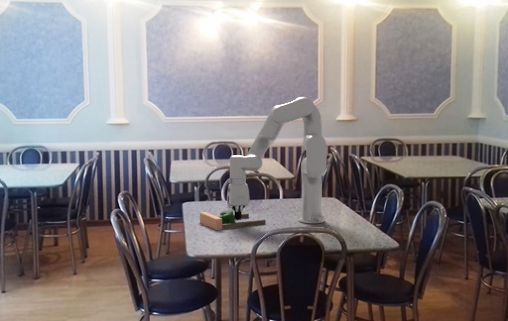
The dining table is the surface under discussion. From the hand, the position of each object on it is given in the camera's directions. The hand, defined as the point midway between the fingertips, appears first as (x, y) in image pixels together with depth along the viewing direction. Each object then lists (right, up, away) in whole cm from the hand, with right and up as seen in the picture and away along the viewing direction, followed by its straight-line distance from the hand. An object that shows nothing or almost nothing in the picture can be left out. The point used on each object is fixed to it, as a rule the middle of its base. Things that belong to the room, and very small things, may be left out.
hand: (238, 219), depth 291 cm
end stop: (-13, -2, -7) cm, 14 cm away
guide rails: (-1, -2, -1) cm, 2 cm away
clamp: (-5, -2, -2) cm, 6 cm away
